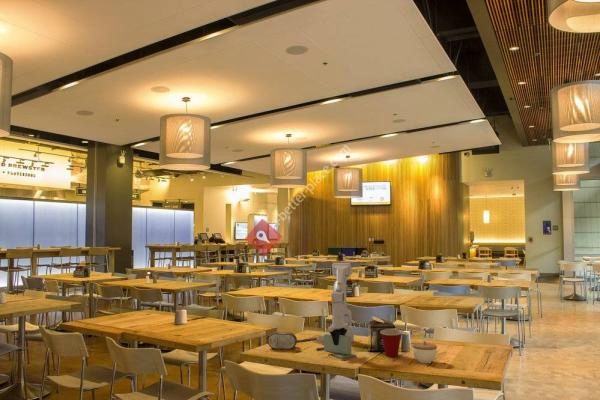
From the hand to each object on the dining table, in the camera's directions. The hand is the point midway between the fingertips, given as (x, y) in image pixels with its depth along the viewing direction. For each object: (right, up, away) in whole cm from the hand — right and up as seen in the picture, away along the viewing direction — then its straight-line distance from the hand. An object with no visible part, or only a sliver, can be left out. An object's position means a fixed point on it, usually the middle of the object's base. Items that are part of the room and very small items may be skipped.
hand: (338, 344), depth 250 cm
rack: (-8, -6, +18) cm, 21 cm away
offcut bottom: (-5, -5, +21) cm, 22 cm away
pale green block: (0, -4, 0) cm, 4 cm away
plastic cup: (+25, -5, -3) cm, 26 cm away
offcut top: (-4, -3, +20) cm, 21 cm away
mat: (0, -5, 0) cm, 5 cm away
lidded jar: (+39, -4, -14) cm, 42 cm away
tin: (-28, -6, +11) cm, 31 cm away
